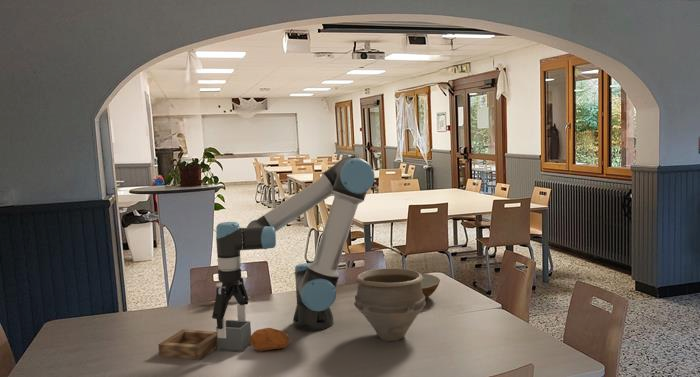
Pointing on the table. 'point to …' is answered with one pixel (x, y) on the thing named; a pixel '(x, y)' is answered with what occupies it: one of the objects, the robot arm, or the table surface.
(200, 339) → the walnut crate
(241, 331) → the grey open box
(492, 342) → the table surface
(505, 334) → the table surface
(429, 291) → the bowl
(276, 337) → the potato
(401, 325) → the planter
